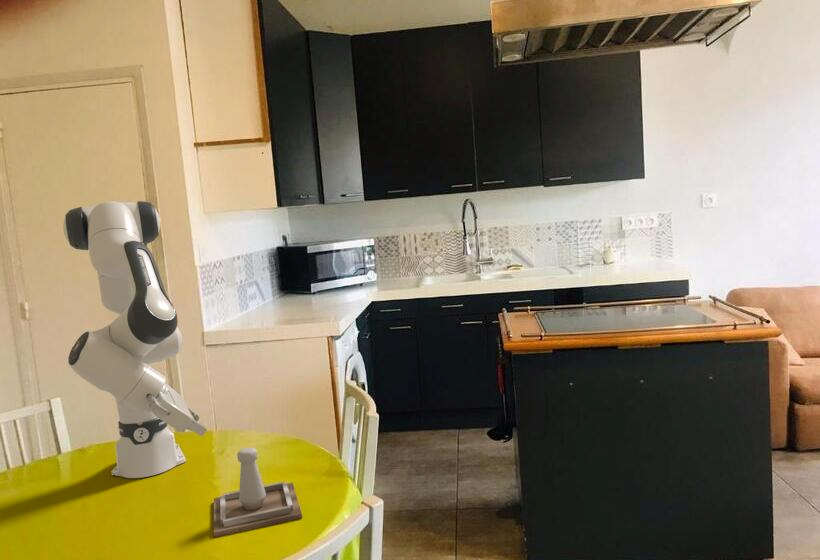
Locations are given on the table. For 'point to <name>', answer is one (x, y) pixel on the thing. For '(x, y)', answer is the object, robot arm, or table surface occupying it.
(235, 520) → the socket plate
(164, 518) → the table surface
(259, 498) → the salt shaker
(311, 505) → the table surface
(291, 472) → the table surface
